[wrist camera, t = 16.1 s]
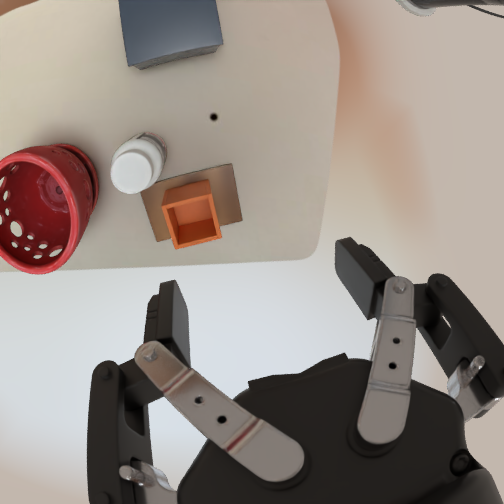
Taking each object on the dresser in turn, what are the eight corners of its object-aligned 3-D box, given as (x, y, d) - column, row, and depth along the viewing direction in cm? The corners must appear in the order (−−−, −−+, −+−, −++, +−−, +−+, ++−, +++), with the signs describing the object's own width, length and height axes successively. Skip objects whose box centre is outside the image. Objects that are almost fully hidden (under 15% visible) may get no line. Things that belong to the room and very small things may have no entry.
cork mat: (231, 163, 33) (232, 164, 33) (241, 219, 38) (242, 220, 37) (139, 186, 32) (138, 188, 32) (157, 239, 37) (157, 242, 36)
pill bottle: (133, 179, 32) (115, 209, 23) (119, 140, 29) (94, 157, 21) (172, 165, 32) (167, 190, 24) (160, 125, 29) (149, 135, 21)
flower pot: (105, 232, 34) (80, 285, 24) (28, 220, 30) (-12, 266, 20) (115, 137, 28) (80, 158, 18) (30, 131, 24) (-24, 153, 14)
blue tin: (206, -10, 21) (210, -29, 16) (217, 53, 26) (223, 44, 21) (128, 8, 20) (117, -7, 15) (138, 71, 25) (128, 66, 20)
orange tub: (208, 178, 33) (211, 193, 29) (217, 218, 36) (222, 238, 32) (164, 189, 33) (161, 206, 28) (176, 228, 36) (175, 249, 31)
